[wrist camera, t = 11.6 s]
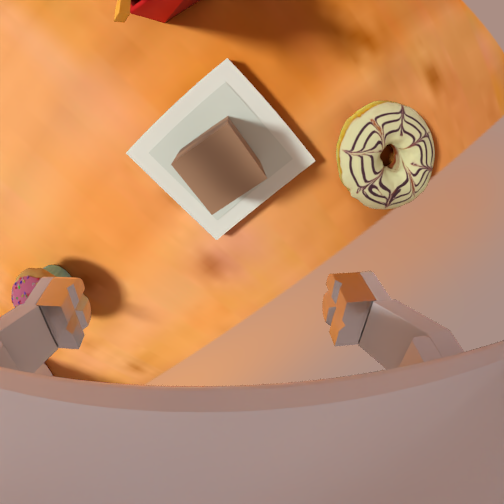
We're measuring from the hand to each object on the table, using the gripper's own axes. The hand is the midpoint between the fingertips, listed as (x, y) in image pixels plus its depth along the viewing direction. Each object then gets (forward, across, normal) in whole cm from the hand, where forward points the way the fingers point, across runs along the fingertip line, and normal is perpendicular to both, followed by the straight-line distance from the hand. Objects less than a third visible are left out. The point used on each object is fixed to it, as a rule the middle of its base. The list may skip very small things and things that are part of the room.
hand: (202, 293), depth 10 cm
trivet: (+21, -1, 0) cm, 21 cm away
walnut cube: (+19, -1, 0) cm, 19 cm away
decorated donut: (+21, -16, 0) cm, 27 cm away
